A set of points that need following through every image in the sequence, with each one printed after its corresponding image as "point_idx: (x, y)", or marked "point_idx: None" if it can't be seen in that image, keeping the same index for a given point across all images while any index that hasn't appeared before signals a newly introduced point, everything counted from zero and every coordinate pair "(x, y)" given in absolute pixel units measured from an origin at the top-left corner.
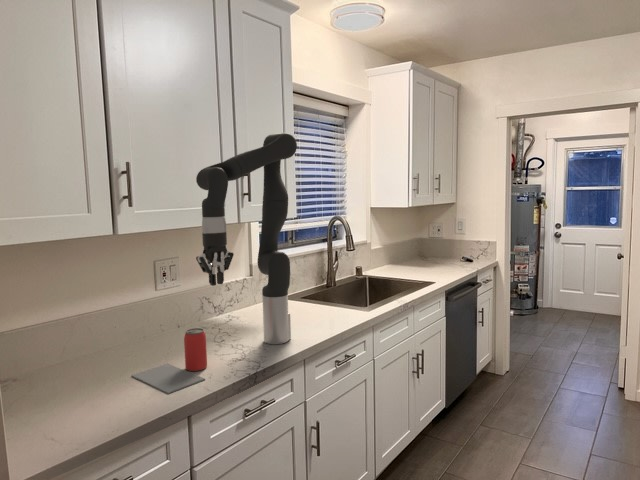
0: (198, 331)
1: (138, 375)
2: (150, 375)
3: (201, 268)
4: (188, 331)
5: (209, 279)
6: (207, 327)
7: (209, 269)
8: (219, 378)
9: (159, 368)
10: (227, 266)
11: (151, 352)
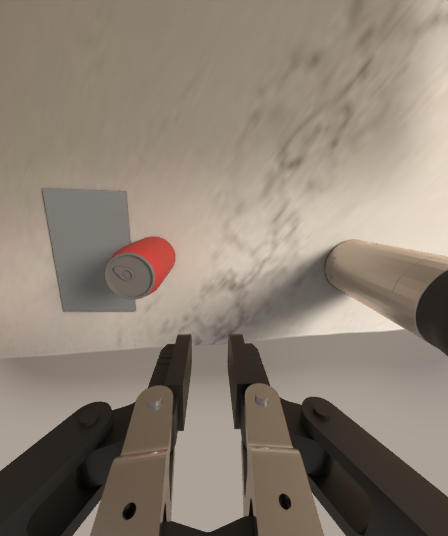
0: (138, 282)
1: (52, 202)
2: (70, 222)
3: (29, 452)
4: (120, 260)
5: (156, 369)
6: (361, 15)
7: (98, 495)
8: (155, 322)
9: (100, 203)
10: (321, 482)
11: (139, 78)
